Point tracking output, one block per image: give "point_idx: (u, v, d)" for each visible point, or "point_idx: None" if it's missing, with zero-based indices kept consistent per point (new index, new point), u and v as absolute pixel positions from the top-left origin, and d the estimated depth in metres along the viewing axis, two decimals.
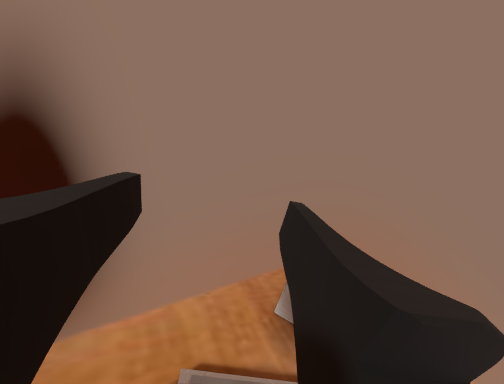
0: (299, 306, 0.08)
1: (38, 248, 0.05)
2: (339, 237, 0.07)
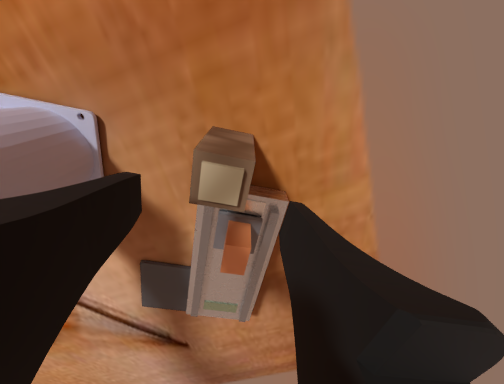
0: (299, 306, 0.08)
1: (38, 248, 0.05)
2: (339, 237, 0.07)
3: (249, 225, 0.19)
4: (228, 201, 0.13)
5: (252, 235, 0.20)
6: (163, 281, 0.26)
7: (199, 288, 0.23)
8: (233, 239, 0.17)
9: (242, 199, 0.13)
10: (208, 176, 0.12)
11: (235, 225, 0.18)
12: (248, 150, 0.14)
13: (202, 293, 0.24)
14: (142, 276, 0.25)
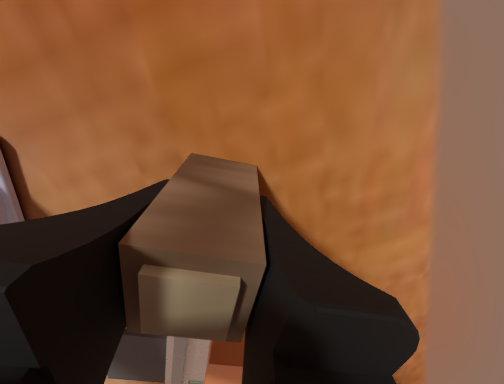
0: None
1: (116, 258, 0.05)
2: (289, 229, 0.07)
3: None
4: (208, 335, 0.06)
5: None
6: (133, 352, 0.19)
7: (179, 375, 0.16)
8: (223, 346, 0.10)
9: (236, 324, 0.06)
10: (158, 297, 0.05)
11: None
12: (248, 216, 0.07)
13: (185, 374, 0.18)
14: None
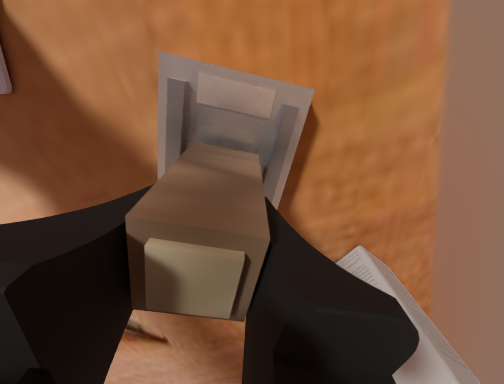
0: None
1: (115, 259, 0.05)
2: (289, 229, 0.07)
3: None
4: (211, 312, 0.06)
5: None
6: None
7: None
8: None
9: (239, 303, 0.06)
10: (163, 271, 0.05)
11: None
12: (252, 197, 0.07)
13: None
14: None
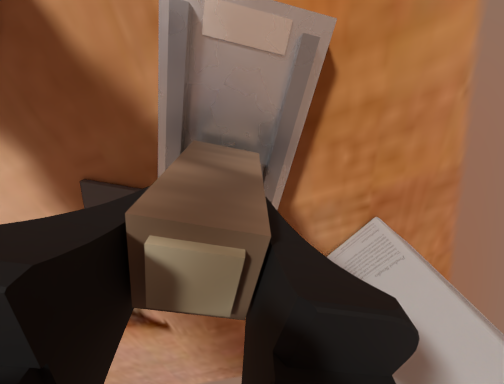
0: None
1: (116, 258, 0.05)
2: (289, 229, 0.07)
3: None
4: (212, 310, 0.06)
5: None
6: None
7: None
8: None
9: (240, 301, 0.06)
10: (163, 269, 0.05)
11: None
12: (252, 195, 0.07)
13: None
14: None
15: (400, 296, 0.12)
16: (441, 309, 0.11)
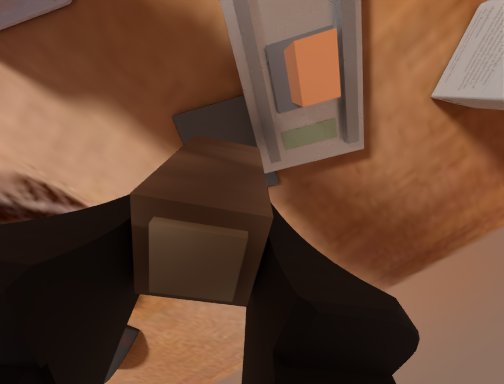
0: (250, 300, 0.07)
1: (116, 258, 0.05)
2: (289, 229, 0.07)
3: None
4: (215, 294, 0.06)
5: None
6: None
7: (263, 91, 0.14)
8: None
9: (242, 286, 0.06)
10: (167, 250, 0.05)
11: None
12: (254, 182, 0.07)
13: (273, 116, 0.15)
14: (185, 143, 0.18)
15: None
16: None
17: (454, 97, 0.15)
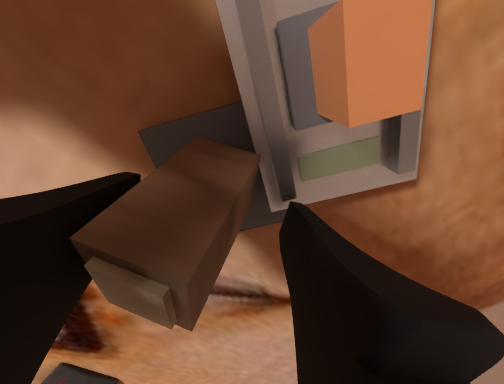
0: (299, 306, 0.08)
1: (38, 248, 0.05)
2: (339, 237, 0.07)
3: None
4: (155, 320, 0.07)
5: None
6: None
7: (272, 96, 0.09)
8: None
9: (182, 318, 0.07)
10: (106, 284, 0.06)
11: None
12: (207, 222, 0.07)
13: (285, 133, 0.10)
14: None
15: None
16: None
17: None
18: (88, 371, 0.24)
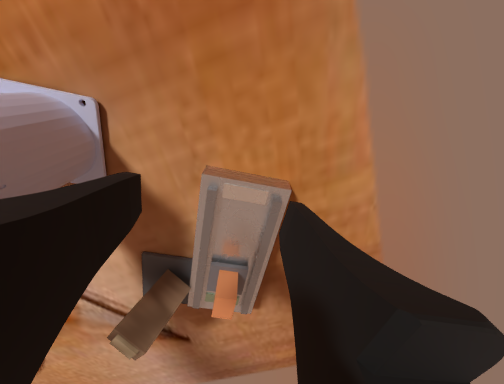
0: (299, 306, 0.08)
1: (38, 248, 0.05)
2: (339, 237, 0.07)
3: (237, 274, 0.22)
4: (125, 355, 0.20)
5: (239, 280, 0.23)
6: None
7: (201, 279, 0.23)
8: (222, 290, 0.20)
9: (135, 356, 0.20)
10: (117, 342, 0.19)
11: (224, 275, 0.22)
12: (157, 328, 0.20)
13: (204, 285, 0.24)
14: (143, 268, 0.25)
15: None
16: None
17: None
18: None
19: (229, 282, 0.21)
